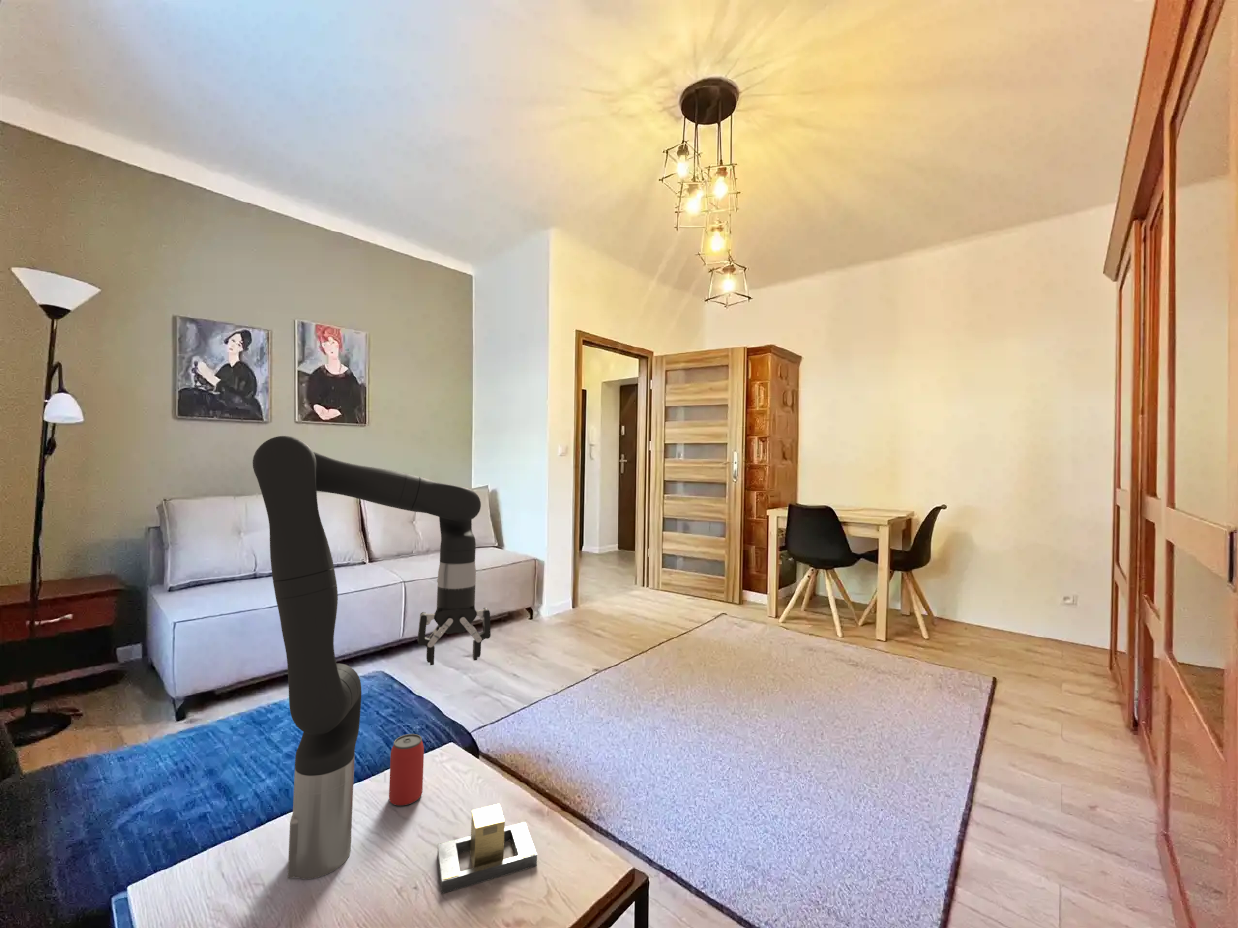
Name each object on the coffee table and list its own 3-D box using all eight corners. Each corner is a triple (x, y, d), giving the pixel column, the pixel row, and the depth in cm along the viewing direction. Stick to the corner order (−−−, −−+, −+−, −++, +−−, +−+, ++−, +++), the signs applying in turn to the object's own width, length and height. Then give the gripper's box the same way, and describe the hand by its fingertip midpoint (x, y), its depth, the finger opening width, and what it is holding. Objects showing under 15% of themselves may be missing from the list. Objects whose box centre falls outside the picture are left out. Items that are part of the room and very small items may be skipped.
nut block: (474, 875, 87) (475, 828, 87) (470, 854, 91) (471, 809, 92) (503, 867, 89) (504, 820, 89) (498, 847, 93) (499, 803, 94)
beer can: (418, 784, 111) (420, 729, 112) (425, 800, 106) (427, 742, 106) (386, 794, 108) (388, 737, 108) (391, 811, 102) (394, 751, 103)
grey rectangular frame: (441, 893, 83) (441, 880, 83) (437, 855, 91) (437, 843, 91) (536, 865, 89) (537, 853, 89) (524, 832, 97) (525, 821, 98)
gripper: (420, 589, 98) (417, 672, 98) (494, 584, 104) (491, 663, 104) (419, 581, 105) (416, 659, 105) (488, 577, 111) (485, 651, 111)
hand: (453, 661), depth 104 cm, fingers open, 8 cm apart
